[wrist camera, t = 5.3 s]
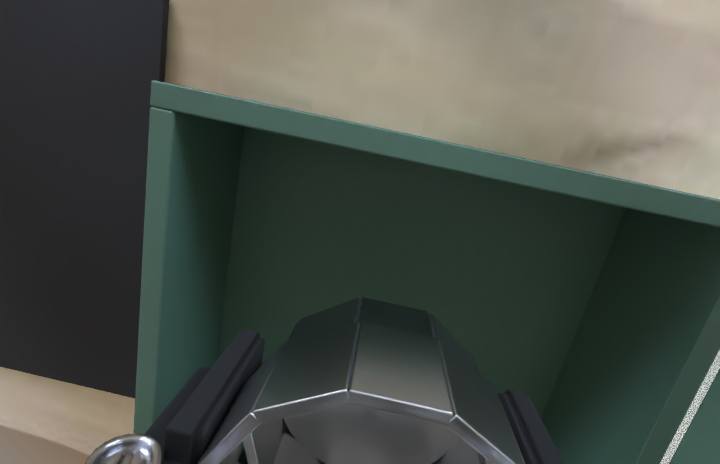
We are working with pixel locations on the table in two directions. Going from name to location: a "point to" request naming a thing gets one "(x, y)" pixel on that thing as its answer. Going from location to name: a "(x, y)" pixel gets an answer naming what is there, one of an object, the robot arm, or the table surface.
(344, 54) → the table surface
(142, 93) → the mat
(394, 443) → the bowl
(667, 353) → the open green box
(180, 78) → the table surface
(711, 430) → the lid
